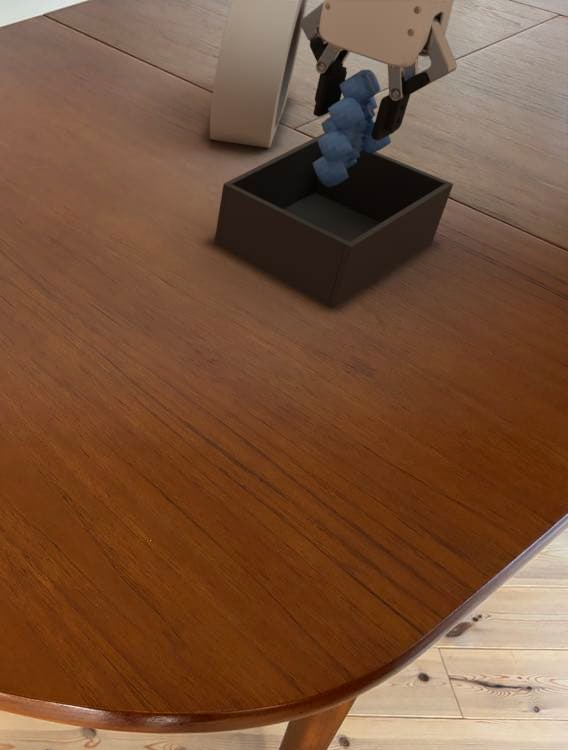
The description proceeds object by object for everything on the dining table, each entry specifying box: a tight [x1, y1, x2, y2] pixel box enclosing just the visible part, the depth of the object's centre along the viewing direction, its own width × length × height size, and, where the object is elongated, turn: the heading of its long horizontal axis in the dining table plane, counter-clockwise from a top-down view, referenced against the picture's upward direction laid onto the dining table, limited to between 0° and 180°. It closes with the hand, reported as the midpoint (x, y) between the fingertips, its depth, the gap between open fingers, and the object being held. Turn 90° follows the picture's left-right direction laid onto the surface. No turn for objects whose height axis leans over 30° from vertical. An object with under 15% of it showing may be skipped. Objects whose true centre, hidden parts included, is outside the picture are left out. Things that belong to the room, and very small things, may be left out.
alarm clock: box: [209, 0, 308, 149], centre depth 106 cm, size 21×8×20 cm, turn 160°
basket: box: [214, 132, 454, 309], centre depth 89 cm, size 15×17×8 cm
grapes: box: [313, 69, 392, 187], centre depth 82 cm, size 12×7×12 cm, turn 150°
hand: (354, 121), depth 82 cm, fingers closed on grapes, 5 cm apart
